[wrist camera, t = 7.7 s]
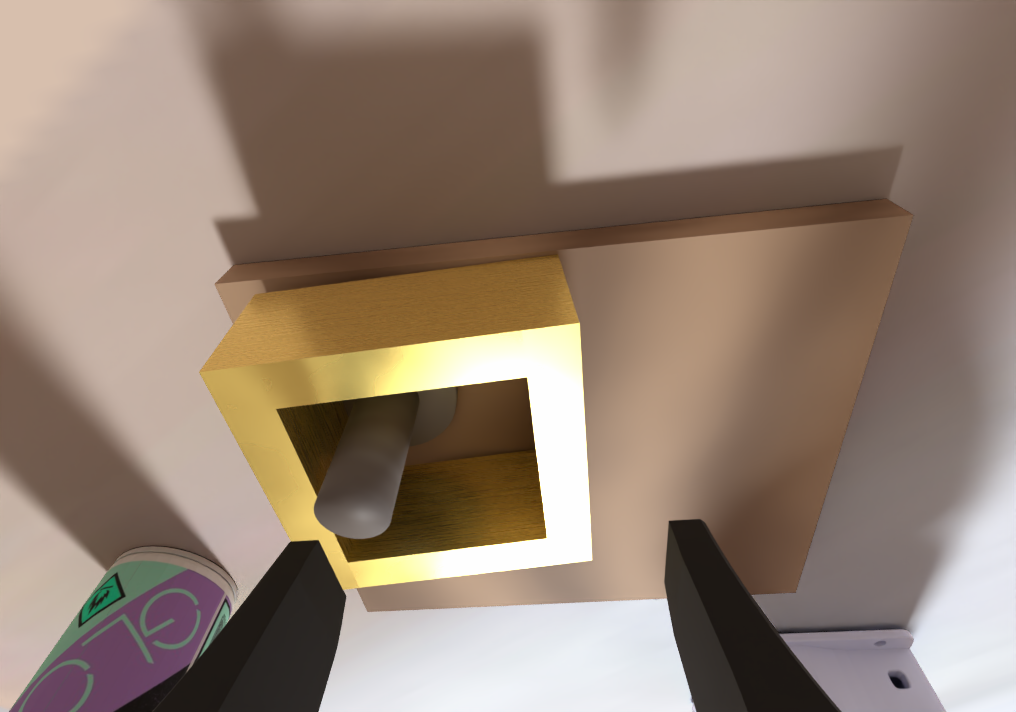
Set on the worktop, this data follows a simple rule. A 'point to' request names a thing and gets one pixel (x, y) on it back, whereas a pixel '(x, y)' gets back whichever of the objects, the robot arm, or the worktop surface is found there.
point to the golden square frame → (406, 368)
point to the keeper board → (642, 392)
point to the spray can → (134, 635)
